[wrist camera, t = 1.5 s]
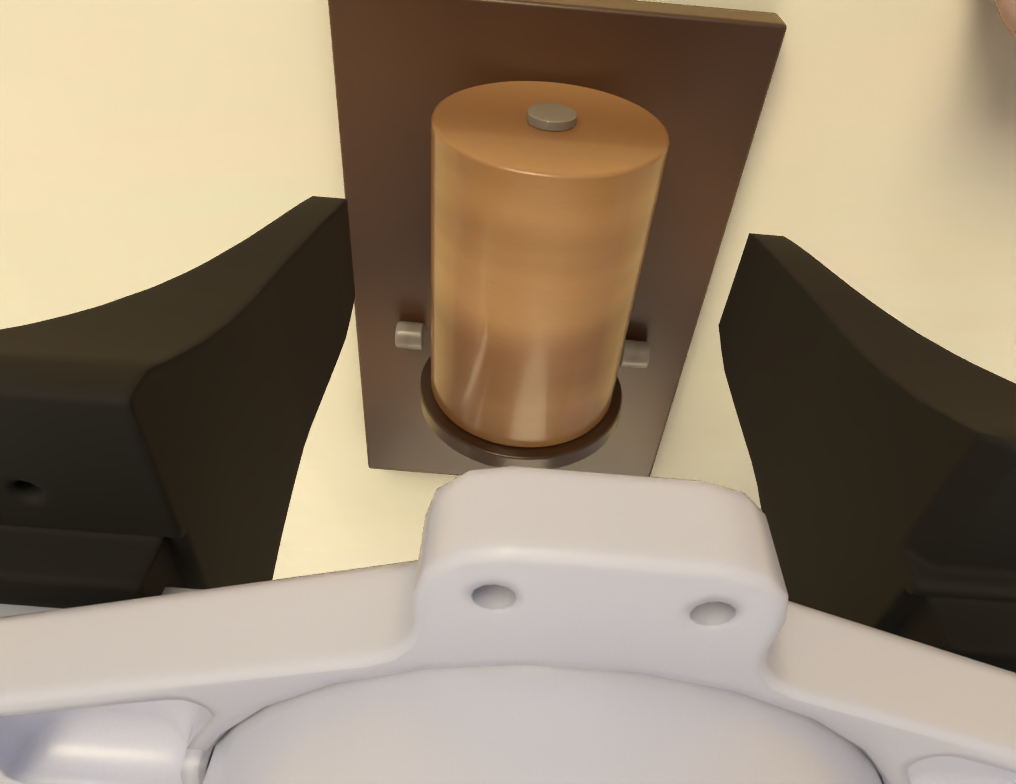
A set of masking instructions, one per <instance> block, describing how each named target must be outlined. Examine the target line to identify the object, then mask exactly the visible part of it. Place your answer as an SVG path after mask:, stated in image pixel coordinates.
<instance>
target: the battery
mask: <svg viewBox="0 0 1016 784" xmlns="http://www.w3.org/2000/svg"><path fill="white" fill-rule="evenodd" d="M669 143H670V142H669V135H668V132H667V130H666V128H665V126H664V125H663V124H662V122H661V121H660V120H659V119H658V118H656V117H655V116H654V115H653V114H651V113H650V112H649V111H647V110H646V109H644V108H642V107H640V106H639V105H637V104H634V103H632V102H630V101H628V100H626V99H623V98H620V97H618V96H615V95H612V94H609V93H606V92H603V91H599V90H595V89H591V88H586V87H581V86H576V85H570V84H563V83H554V82H541V81H509V82H498V83H490V84H484V85H479V86H474V87H471V88H467V89H464V90H461V91H459V92H456V93H454V94H452V95H450V96H448V97H446V98H445V99H444V100H442V101H441V102H440V103H439V104H438V105H437V106H436V108H435V110H434V112H433V114H432V117H431V356H430V357H429V358H428V360H427V361H426V363H425V365H424V367H423V370H422V373H421V376H420V384H419V396H420V406H421V409H422V413H423V415H424V417H425V419H426V421H427V423H428V425H429V426H430V428H431V429H432V431H433V432H434V433H435V434H436V435H437V436H438V437H439V438H440V439H441V440H442V442H444V443H445V444H446V445H448V446H449V447H450V448H451V449H453V450H455V451H456V452H458V453H459V454H461V455H463V456H465V457H467V458H469V459H471V460H474V461H476V462H479V463H482V464H485V465H488V466H491V467H496V468H497V467H507V466H520V467H533V468H545V469H556V468H561V467H564V466H568V465H571V464H574V463H576V462H578V461H581V460H583V459H585V458H587V457H588V456H590V455H592V454H593V453H595V452H596V451H597V450H598V449H600V448H601V447H602V446H603V445H604V444H605V443H606V442H607V441H608V440H609V439H610V437H611V436H612V434H613V432H614V431H615V429H616V426H617V424H618V421H619V417H620V413H621V408H622V403H623V399H622V389H621V384H620V382H619V379H618V377H617V373H618V369H619V365H620V360H621V356H622V351H623V347H624V343H625V338H626V334H627V329H628V325H629V321H630V316H631V312H632V307H633V303H634V299H635V294H636V290H637V285H638V281H639V276H640V272H641V268H642V263H643V259H644V254H645V250H646V246H647V241H648V237H649V232H650V228H651V224H652V219H653V215H654V210H655V206H656V202H657V197H658V193H659V188H660V184H661V180H662V175H663V171H664V166H665V162H666V158H667V153H668V149H669Z"/></svg>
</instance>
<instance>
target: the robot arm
mask: <svg viewBox="0 0 1016 784" xmlns="http://www.w3.org/2000/svg"><path fill="white" fill-rule="evenodd" d="M354 299H355V285H354V273H353V262H352V250H351V238H350V226H349V214H348V203H347V199H340V198H329V197H317V196H312V197H310V198H309V199H307V200H305V201H303V202H302V203H300V204H299V205H297V206H296V207H294V208H292V209H291V210H289V211H288V212H287V213H285V214H284V215H282V216H281V217H279V218H278V219H276V220H275V221H273V222H272V223H270V224H269V225H267V226H266V227H264V228H263V229H261V230H259V231H258V232H256V233H255V234H253V235H252V236H250V237H249V238H247V239H246V240H244V241H242V242H241V243H239V244H237V245H235V246H234V247H232V248H230V249H229V250H227V251H225V252H223V253H222V254H220V255H218V256H216V257H215V258H213V259H211V260H210V261H208V262H206V263H204V264H202V265H200V266H198V267H196V268H194V269H192V270H190V271H188V272H186V273H184V274H182V275H180V276H178V277H175V278H173V279H171V280H168V281H166V282H164V283H162V284H159V285H157V286H155V287H152V288H150V289H147V290H144V291H141V292H138V293H135V294H133V295H130V296H127V297H124V298H121V299H118V300H116V301H113V302H110V303H107V304H104V305H101V306H98V307H95V308H91V309H88V310H84V311H80V312H77V313H73V314H70V315H66V316H62V317H58V318H53V319H49V320H45V321H41V322H37V323H32V324H28V325H23V326H18V327H12V328H6V329H1V330H0V784H1016V384H1015V383H1013V382H1011V381H1009V380H1006V379H1004V378H1002V377H1000V376H998V375H996V374H994V373H991V372H989V371H987V370H985V369H983V368H981V367H979V366H977V365H974V364H972V363H971V362H969V361H967V360H965V359H963V358H961V357H959V356H957V355H955V354H953V353H951V352H950V351H948V350H946V349H944V348H943V347H941V346H939V345H937V344H936V343H934V342H932V341H930V340H929V339H927V338H925V337H923V336H922V335H920V334H918V333H917V332H915V331H914V330H912V329H910V328H909V327H907V326H906V325H904V324H903V323H901V322H900V321H898V320H897V319H895V318H894V317H892V316H891V315H889V314H888V313H886V312H885V311H884V310H882V309H881V308H879V307H878V306H876V305H875V304H874V303H872V302H871V301H869V300H868V299H867V298H865V297H864V296H863V295H861V294H860V293H859V292H857V291H856V290H855V289H853V288H852V287H851V286H849V285H848V284H847V283H846V282H844V281H843V280H842V279H840V278H839V277H838V276H837V275H835V274H834V273H833V272H832V271H830V270H829V269H828V268H826V267H825V266H824V265H823V264H821V263H820V262H819V261H818V260H816V259H815V258H814V257H812V256H811V255H810V254H809V253H807V252H806V251H805V250H803V249H802V248H801V247H799V246H798V245H796V244H795V243H793V242H792V241H790V240H789V239H787V238H785V237H784V236H774V235H762V234H750V233H749V236H748V239H747V242H746V245H745V248H744V251H743V254H742V257H741V260H740V263H739V266H738V269H737V272H736V275H735V278H734V281H733V284H732V287H731V290H730V293H729V296H728V299H727V302H726V305H725V308H724V311H723V314H722V317H721V320H720V323H719V332H720V341H721V350H722V357H723V364H724V370H725V374H726V378H727V381H728V385H729V388H730V392H731V395H732V398H733V402H734V405H735V409H736V412H737V415H738V418H739V422H740V425H741V428H742V432H743V435H744V438H745V442H746V445H747V448H748V451H749V455H750V458H751V461H752V465H753V469H754V473H755V477H756V481H757V486H758V492H759V498H760V504H761V510H762V511H761V510H760V509H759V508H758V507H757V506H756V505H755V504H754V503H753V501H752V500H751V499H750V498H749V497H748V496H747V495H746V494H745V493H743V492H740V491H736V490H732V489H729V488H725V487H721V486H718V485H714V484H711V483H707V482H703V481H696V480H684V479H671V478H659V477H646V476H634V475H621V474H608V473H596V472H583V471H571V470H558V469H545V468H533V467H520V466H507V467H497V468H487V469H477V470H471V471H468V472H466V473H464V474H463V475H461V476H459V477H457V478H456V479H454V480H452V481H450V482H449V483H447V484H445V485H443V486H441V487H440V488H438V489H437V490H436V492H435V494H434V497H433V499H432V501H431V504H430V506H429V508H428V511H427V513H426V516H425V522H424V528H423V535H422V541H421V547H420V554H419V560H416V561H409V562H401V563H394V564H387V565H379V566H372V567H365V568H357V569H350V570H343V571H335V572H328V573H321V574H314V575H306V576H299V577H292V578H284V579H277V580H272V578H273V574H274V569H275V564H276V560H277V555H278V550H279V546H280V541H281V537H282V532H283V528H284V524H285V520H286V516H287V511H288V507H289V503H290V499H291V495H292V491H293V487H294V483H295V479H296V475H297V471H298V468H299V464H300V460H301V456H302V452H303V448H304V445H305V442H306V439H307V437H308V434H309V431H310V428H311V425H312V423H313V420H314V418H315V415H316V413H317V410H318V408H319V405H320V403H321V400H322V398H323V395H324V393H325V390H326V388H327V385H328V383H329V380H330V378H331V375H332V373H333V370H334V367H335V365H336V362H337V360H338V357H339V355H340V352H341V349H342V347H343V344H344V341H345V339H346V335H347V330H348V326H349V322H350V318H351V313H352V309H353V304H354Z"/></svg>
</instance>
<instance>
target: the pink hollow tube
mask: <svg viewBox="0 0 1016 784" xmlns="http://www.w3.org/2000/svg"><path fill="white" fill-rule="evenodd" d="M994 1H995V4H996V6H997V9H998V11H999V14H1000V16H1001V18H1002V20H1003V21H1004V23H1005V25H1006V27H1007V28H1008V29H1009V31H1010V32H1011V33H1012V35H1013V36H1014V37H1015V38H1016V0H994Z"/></svg>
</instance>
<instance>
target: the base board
mask: <svg viewBox="0 0 1016 784" xmlns="http://www.w3.org/2000/svg"><path fill="white" fill-rule="evenodd" d="M328 5H329V16H330V28H331V39H332V51H333V63H334V74H335V86H336V97H337V109H338V120H339V132H340V143H341V155H342V166H343V178H344V189H345V199H347V203H348V214H349V226H350V238H351V250H352V262H353V273H354V285H355V299H354V305H355V316H356V328H357V339H358V351H359V363H360V374H361V386H362V397H363V409H364V420H365V432H366V443H367V455H368V466H369V468H374V469H387V470H399V471H412V472H424V473H437V474H449V475H463V474H464V473H466V472H468V471H471V470H477V469H487V468H496V467H491V466H488V465H485V464H482V463H479V462H476V461H474V460H471V459H469V458H467V457H465V456H463V455H461V454H459V453H458V452H456V451H455V450H453V449H451V448H450V447H449V446H448V445H446V444H445V443H444V442H442V440H441V439H440V438H439V437H438V436H437V435H436V434H435V433H434V432H433V431H432V429H431V428H430V426H429V425H428V423H427V421H426V419H425V417H424V415H423V413H422V409H421V406H420V396H419V384H420V376H421V373H422V370H423V367H424V365H425V363H426V361H427V360H428V358H429V357H430V356H431V117H432V114H433V112H434V110H435V108H436V106H437V105H438V104H439V103H440V102H441V101H442V100H444V99H445V98H446V97H448V96H450V95H452V94H454V93H456V92H459V91H461V90H464V89H467V88H471V87H474V86H479V85H484V84H490V83H498V82H509V81H541V82H554V83H563V84H570V85H576V86H581V87H586V88H591V89H595V90H599V91H603V92H606V93H609V94H612V95H615V96H618V97H620V98H623V99H626V100H628V101H630V102H632V103H634V104H637V105H639V106H640V107H642V108H644V109H646V110H647V111H649V112H650V113H651V114H653V115H654V116H655V117H656V118H658V119H659V120H660V121H661V122H662V124H663V125H664V126H665V128H666V130H667V132H668V135H669V142H670V143H669V149H668V153H667V158H666V162H665V166H664V171H663V175H662V180H661V184H660V188H659V193H658V197H657V202H656V206H655V210H654V215H653V219H652V224H651V228H650V232H649V237H648V241H647V246H646V250H645V254H644V259H643V263H642V268H641V272H640V276H639V281H638V285H637V290H636V294H635V299H634V303H633V307H632V312H631V316H630V321H629V325H628V329H627V334H626V338H625V343H624V347H623V351H622V356H621V360H620V365H619V369H618V373H617V377H618V379H619V382H620V384H621V389H622V399H623V403H622V408H621V413H620V417H619V421H618V424H617V426H616V429H615V431H614V432H613V434H612V436H611V437H610V439H609V440H608V441H607V442H606V443H605V444H604V445H603V446H602V447H601V448H600V449H598V450H597V451H596V452H595V453H593V454H592V455H590V456H588V457H587V458H585V459H583V460H581V461H578V462H576V463H574V464H571V465H568V466H564V467H561V468H556V469H558V470H571V471H583V472H596V473H608V474H621V475H634V476H646V477H650V474H651V471H652V468H653V464H654V461H655V458H656V455H657V451H658V448H659V445H660V442H661V438H662V435H663V432H664V428H665V425H666V422H667V419H668V415H669V412H670V409H671V405H672V402H673V399H674V396H675V392H676V389H677V386H678V383H679V379H680V376H681V373H682V369H683V366H684V363H685V360H686V356H687V353H688V350H689V346H690V343H691V340H692V337H693V333H694V330H695V327H696V324H697V320H698V317H699V314H700V310H701V307H702V304H703V301H704V297H705V294H706V291H707V288H708V284H709V281H710V278H711V274H712V271H713V268H714V265H715V261H716V258H717V255H718V251H719V248H720V245H721V242H722V238H723V235H724V232H725V229H726V225H727V222H728V219H729V215H730V212H731V209H732V206H733V202H734V199H735V196H736V192H737V189H738V186H739V183H740V179H741V176H742V173H743V170H744V166H745V163H746V160H747V156H748V153H749V150H750V147H751V143H752V140H753V137H754V133H755V130H756V127H757V124H758V120H759V117H760V114H761V111H762V107H763V104H764V101H765V97H766V94H767V91H768V88H769V84H770V81H771V78H772V75H773V71H774V68H775V65H776V61H777V58H778V55H779V52H780V48H781V45H782V42H783V38H784V35H785V32H786V29H787V28H786V24H785V23H784V22H783V21H782V19H781V18H780V17H779V16H778V15H777V14H775V13H768V12H757V11H746V10H735V9H723V8H712V7H701V6H690V5H679V4H668V3H657V2H646V1H635V0H328Z"/></svg>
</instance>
